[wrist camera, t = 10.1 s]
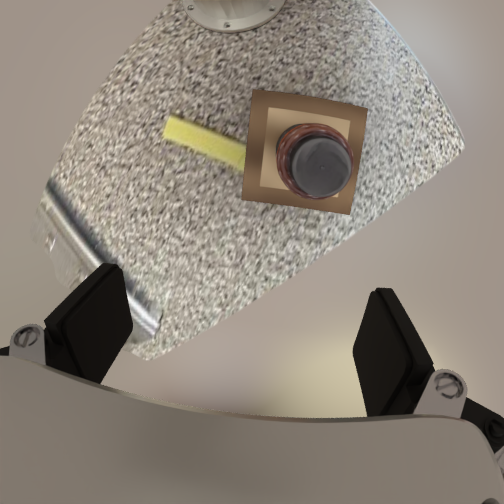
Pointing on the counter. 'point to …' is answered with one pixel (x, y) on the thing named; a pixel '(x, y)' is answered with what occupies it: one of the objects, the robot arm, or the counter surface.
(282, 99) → the base slab
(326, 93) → the counter surface
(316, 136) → the supplement bottle
